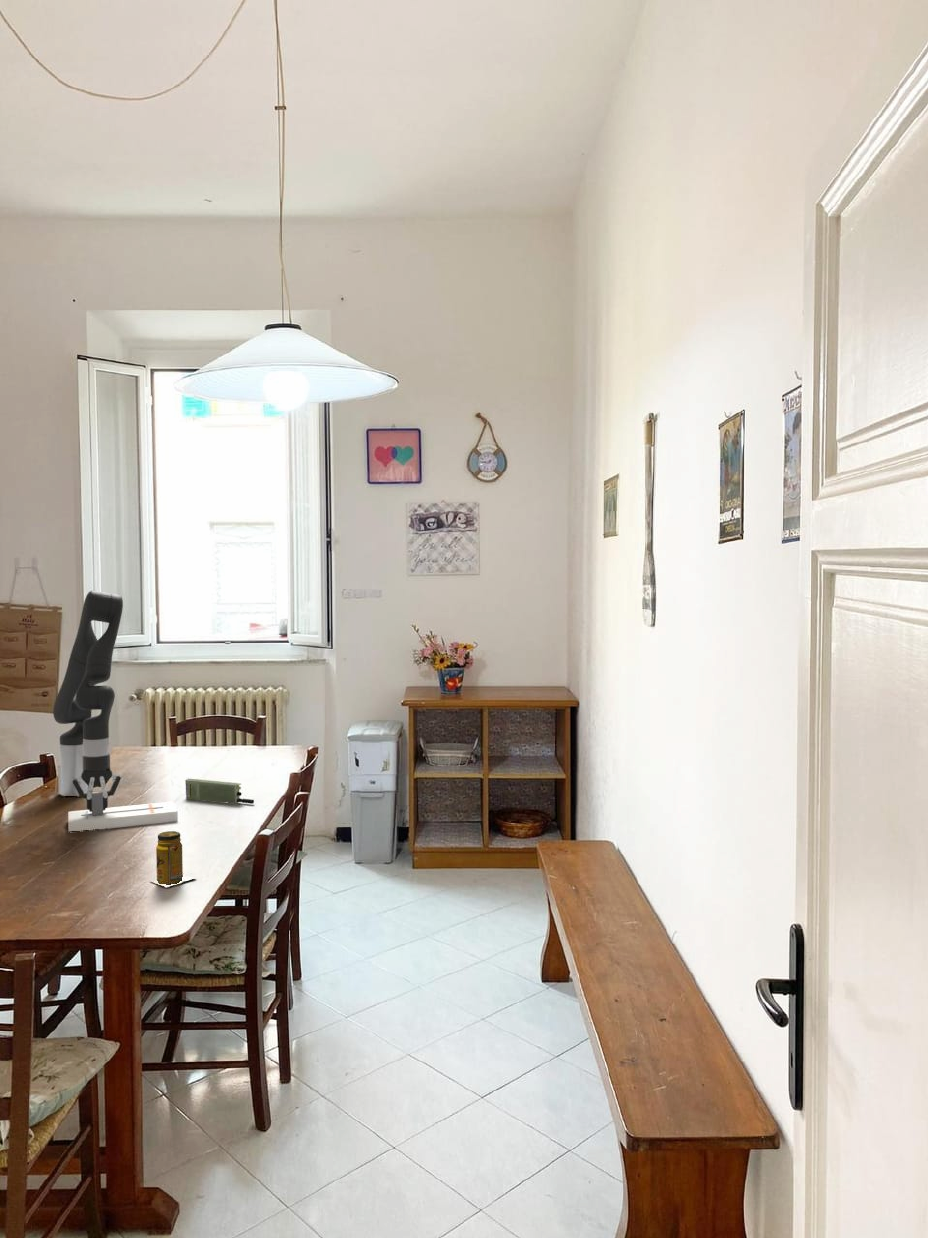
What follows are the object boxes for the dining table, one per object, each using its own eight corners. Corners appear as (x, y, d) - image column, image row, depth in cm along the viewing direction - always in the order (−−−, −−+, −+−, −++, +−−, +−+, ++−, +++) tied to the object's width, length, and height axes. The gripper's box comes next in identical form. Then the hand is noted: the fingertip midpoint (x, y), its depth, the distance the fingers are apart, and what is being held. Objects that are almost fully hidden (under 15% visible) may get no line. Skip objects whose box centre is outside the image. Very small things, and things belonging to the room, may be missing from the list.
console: (68, 832, 258) (68, 822, 258) (68, 821, 269) (68, 811, 269) (177, 821, 270) (177, 811, 270) (173, 810, 281) (173, 801, 281)
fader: (92, 815, 264) (91, 795, 264) (91, 811, 269) (91, 790, 268) (103, 814, 265) (102, 794, 265) (102, 810, 270) (102, 790, 269)
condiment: (149, 882, 219) (148, 834, 219) (180, 873, 226) (179, 826, 225) (166, 889, 215) (165, 840, 214) (197, 880, 221) (196, 832, 220)
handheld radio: (190, 797, 299) (256, 804, 291) (184, 800, 296) (250, 807, 288) (190, 777, 298) (255, 784, 290) (183, 780, 295) (250, 786, 287)
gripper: (70, 757, 259) (71, 816, 261) (122, 753, 265) (123, 811, 266) (70, 752, 266) (71, 809, 267) (121, 748, 272) (122, 805, 273)
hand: (97, 810), depth 267 cm, fingers closed on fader, 3 cm apart
